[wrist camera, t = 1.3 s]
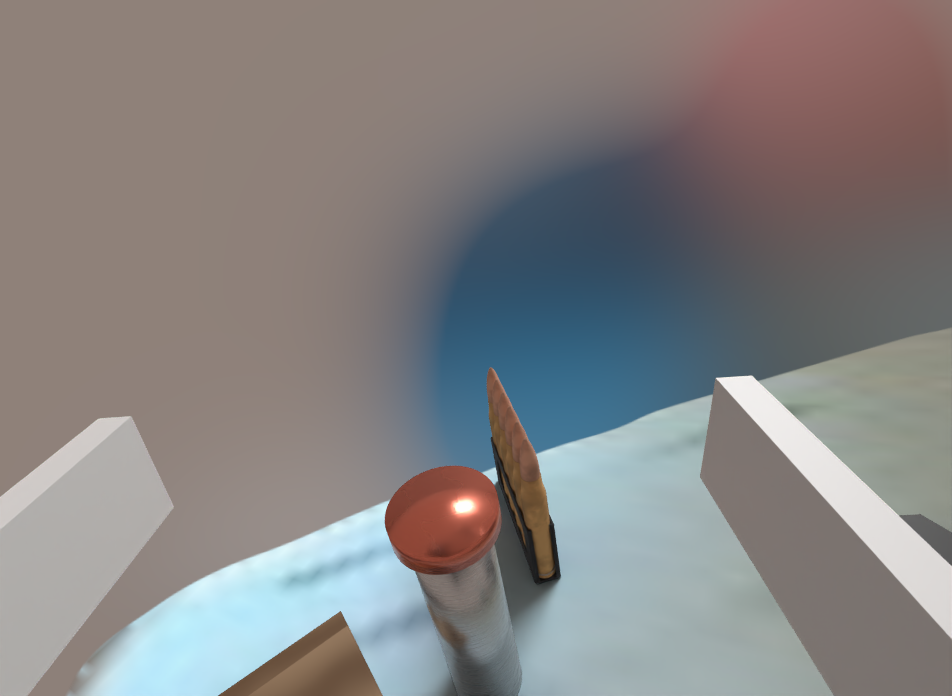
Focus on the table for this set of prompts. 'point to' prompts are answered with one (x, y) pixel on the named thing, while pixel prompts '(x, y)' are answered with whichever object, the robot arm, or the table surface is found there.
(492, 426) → the ammunition clip
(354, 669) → the walnut plate
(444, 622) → the steel pin
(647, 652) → the table surface
